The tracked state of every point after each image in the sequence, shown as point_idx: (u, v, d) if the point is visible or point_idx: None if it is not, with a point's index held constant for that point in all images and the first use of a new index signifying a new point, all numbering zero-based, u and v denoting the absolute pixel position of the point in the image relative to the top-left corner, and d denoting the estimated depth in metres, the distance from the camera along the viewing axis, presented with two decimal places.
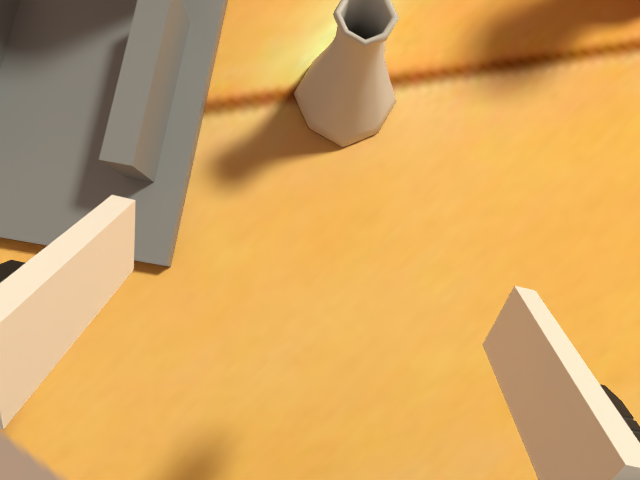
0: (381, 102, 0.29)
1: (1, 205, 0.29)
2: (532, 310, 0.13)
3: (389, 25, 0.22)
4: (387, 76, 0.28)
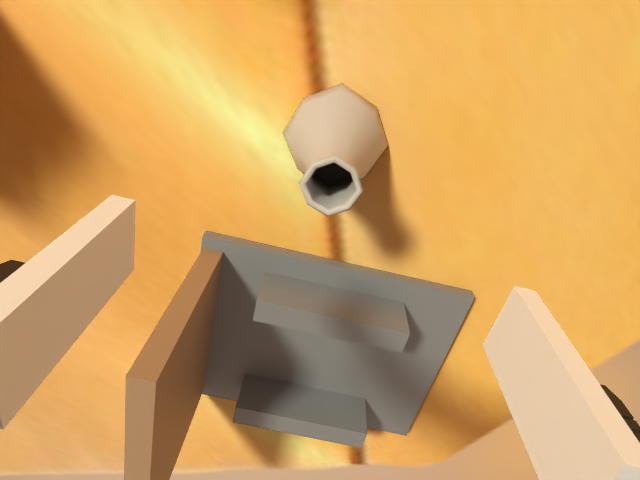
0: (358, 115, 0.28)
1: (406, 388, 0.41)
2: (531, 310, 0.13)
3: (343, 166, 0.22)
4: (340, 116, 0.26)
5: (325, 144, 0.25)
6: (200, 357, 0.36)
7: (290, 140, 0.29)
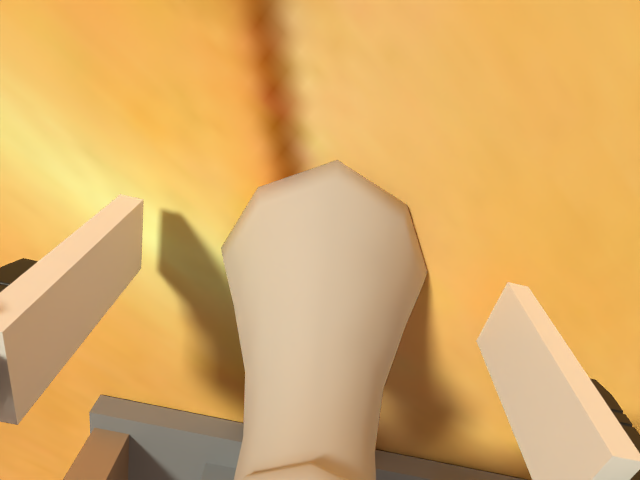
0: (372, 240, 0.13)
1: None
2: (524, 306, 0.13)
3: None
4: (332, 255, 0.11)
5: (292, 355, 0.09)
6: None
7: (229, 279, 0.14)
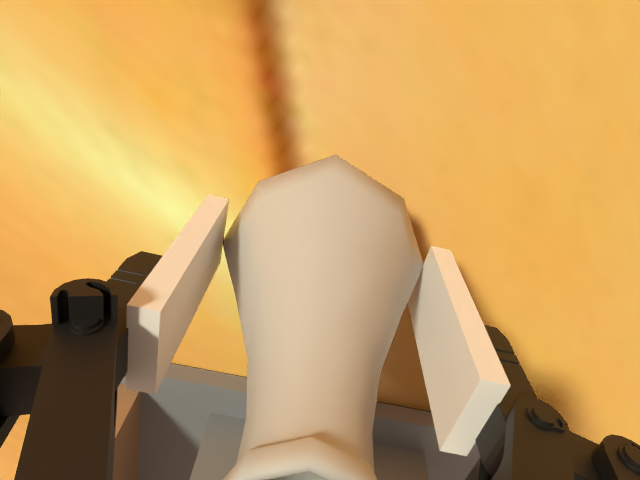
0: (369, 231, 0.13)
1: None
2: (440, 264, 0.15)
3: None
4: (330, 245, 0.12)
5: (292, 340, 0.10)
6: None
7: (231, 271, 0.14)
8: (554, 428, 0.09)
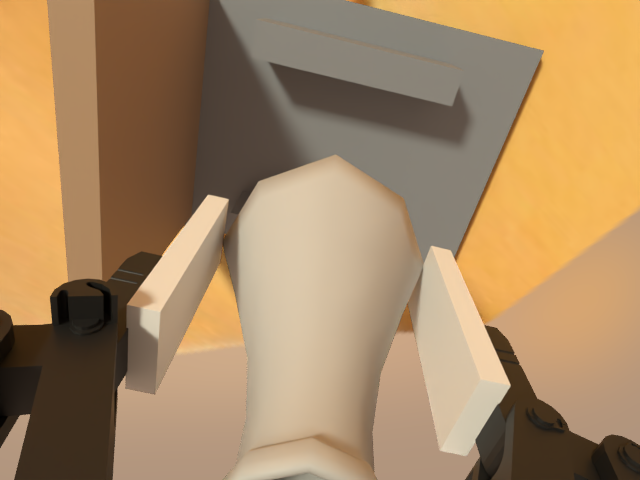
0: (370, 231, 0.13)
1: (447, 205, 0.32)
2: (440, 264, 0.15)
3: None
4: (330, 245, 0.12)
5: (292, 340, 0.10)
6: (182, 133, 0.27)
7: (230, 271, 0.14)
8: (554, 428, 0.09)
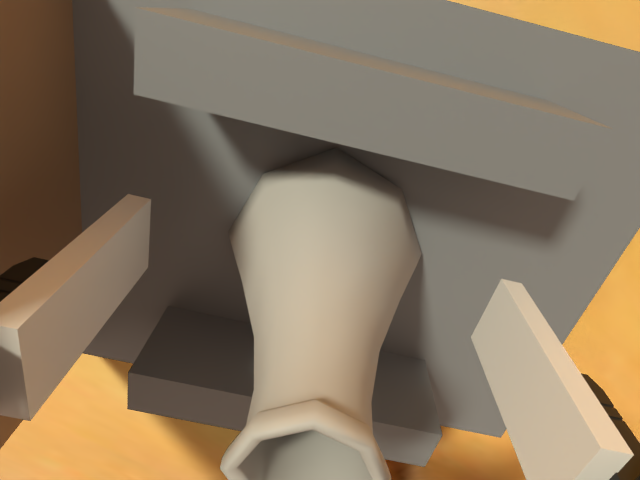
0: (369, 219, 0.14)
1: None
2: (517, 302, 0.14)
3: (339, 440, 0.08)
4: (332, 232, 0.12)
5: (297, 317, 0.11)
6: (19, 236, 0.14)
7: (237, 259, 0.15)
8: None
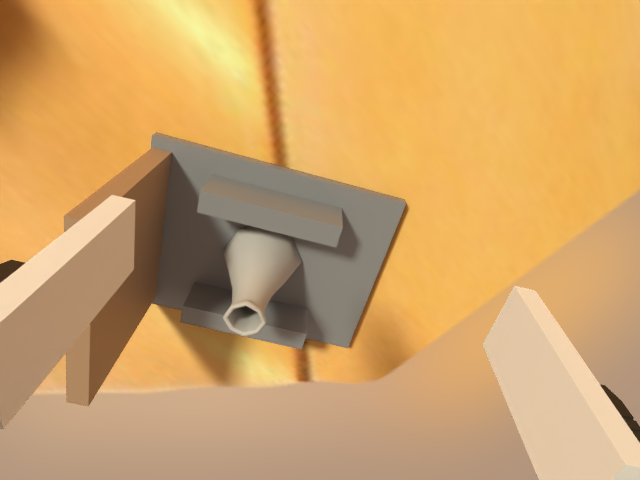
0: (274, 250, 0.38)
1: (346, 297, 0.44)
2: (532, 310, 0.13)
3: (252, 308, 0.33)
4: (259, 255, 0.37)
5: (245, 281, 0.35)
6: (148, 253, 0.38)
7: (226, 262, 0.40)
8: None
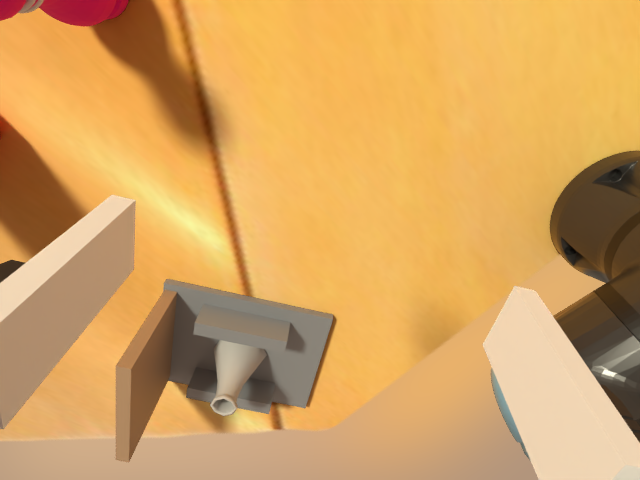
0: (246, 352, 0.58)
1: (300, 376, 0.63)
2: (532, 310, 0.13)
3: (227, 400, 0.52)
4: (235, 358, 0.57)
5: (225, 378, 0.55)
6: (163, 356, 0.58)
7: (215, 359, 0.59)
8: None
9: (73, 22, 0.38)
